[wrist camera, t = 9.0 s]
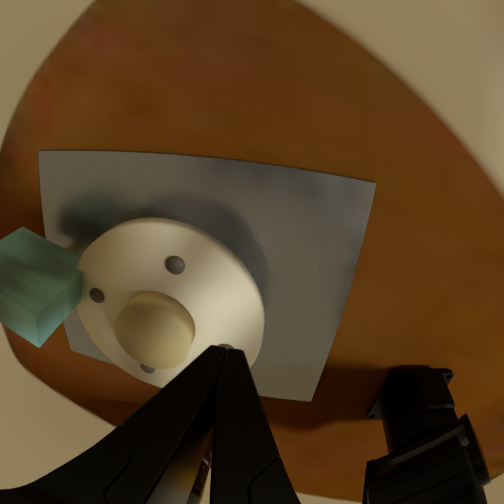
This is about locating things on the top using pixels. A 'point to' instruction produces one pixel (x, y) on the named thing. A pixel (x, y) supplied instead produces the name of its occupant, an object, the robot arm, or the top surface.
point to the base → (227, 238)
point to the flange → (135, 294)
